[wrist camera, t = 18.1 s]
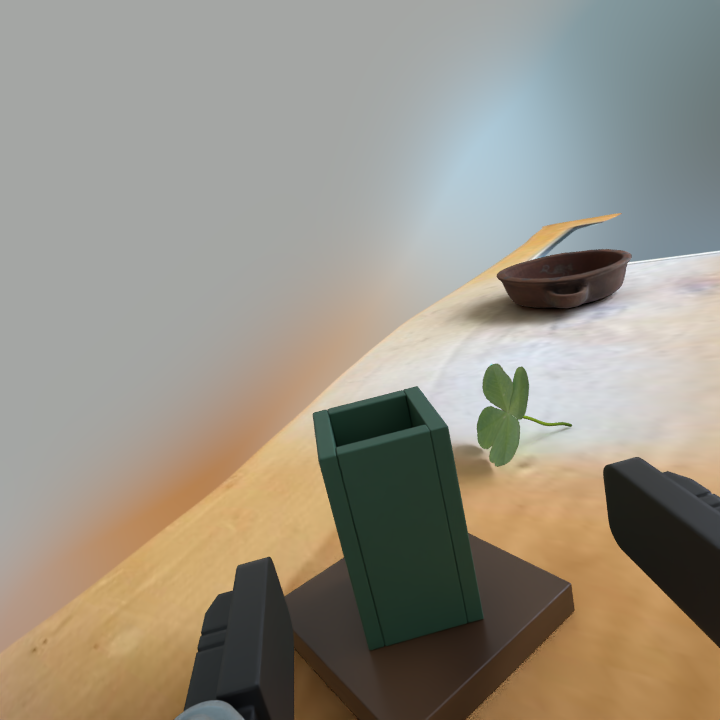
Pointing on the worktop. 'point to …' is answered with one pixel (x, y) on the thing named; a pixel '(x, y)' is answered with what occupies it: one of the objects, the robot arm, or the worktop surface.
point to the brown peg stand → (429, 641)
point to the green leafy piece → (504, 413)
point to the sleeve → (398, 515)
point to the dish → (566, 278)
